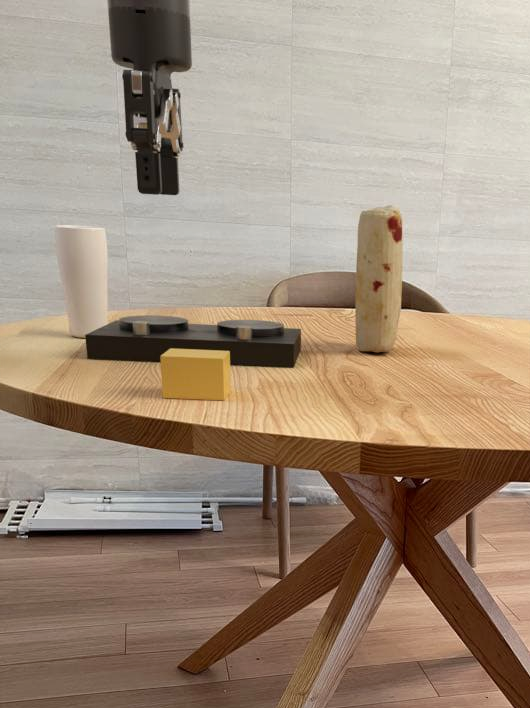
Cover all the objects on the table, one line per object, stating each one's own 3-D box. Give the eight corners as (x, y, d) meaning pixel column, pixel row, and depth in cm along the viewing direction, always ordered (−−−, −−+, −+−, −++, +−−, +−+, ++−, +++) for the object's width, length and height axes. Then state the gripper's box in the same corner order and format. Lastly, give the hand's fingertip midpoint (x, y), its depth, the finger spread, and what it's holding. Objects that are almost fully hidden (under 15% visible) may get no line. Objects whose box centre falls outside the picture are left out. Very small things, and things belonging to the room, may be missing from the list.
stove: (87, 358, 104) (83, 321, 103) (117, 341, 117) (114, 308, 115) (293, 367, 106) (293, 331, 104) (300, 350, 119) (301, 317, 117)
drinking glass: (61, 339, 117) (50, 226, 111) (68, 332, 123) (57, 224, 117) (112, 340, 118) (103, 228, 113) (116, 333, 124) (107, 227, 119)
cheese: (162, 398, 86) (160, 355, 85) (172, 388, 91) (170, 348, 89) (224, 400, 87) (223, 358, 85) (230, 391, 91) (229, 350, 90)
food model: (402, 357, 117) (410, 206, 110) (356, 355, 117) (360, 203, 109) (395, 346, 126) (402, 206, 119) (352, 345, 126) (356, 203, 118)
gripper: (128, 23, 85) (139, 193, 91) (86, -10, 72) (102, 191, 78) (202, 28, 85) (208, 197, 92) (173, -4, 72) (183, 196, 78)
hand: (159, 194), depth 85 cm, fingers open, 8 cm apart
